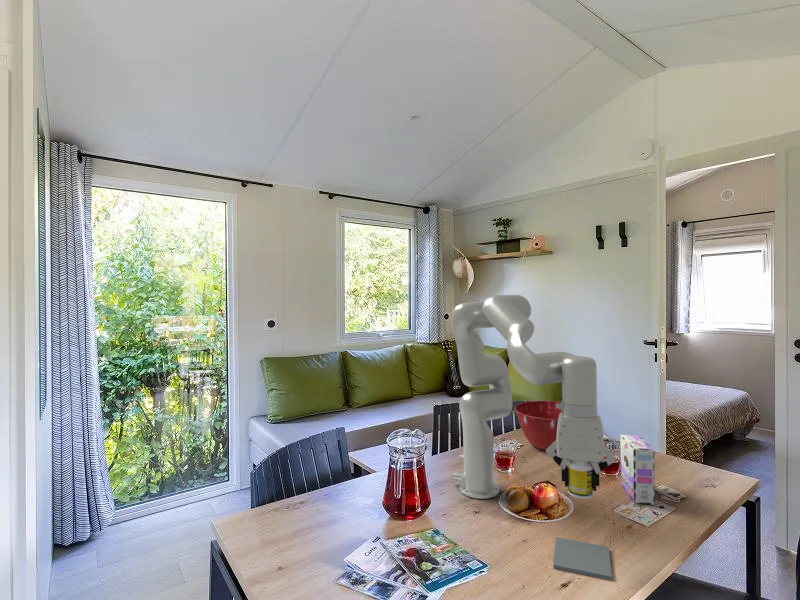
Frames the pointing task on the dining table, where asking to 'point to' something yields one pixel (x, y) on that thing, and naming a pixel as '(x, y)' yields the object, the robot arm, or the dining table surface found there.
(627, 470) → the candy box
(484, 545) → the dining table surface
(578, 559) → the slate coaster
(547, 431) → the mixing bowl
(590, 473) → the supplement bottle
